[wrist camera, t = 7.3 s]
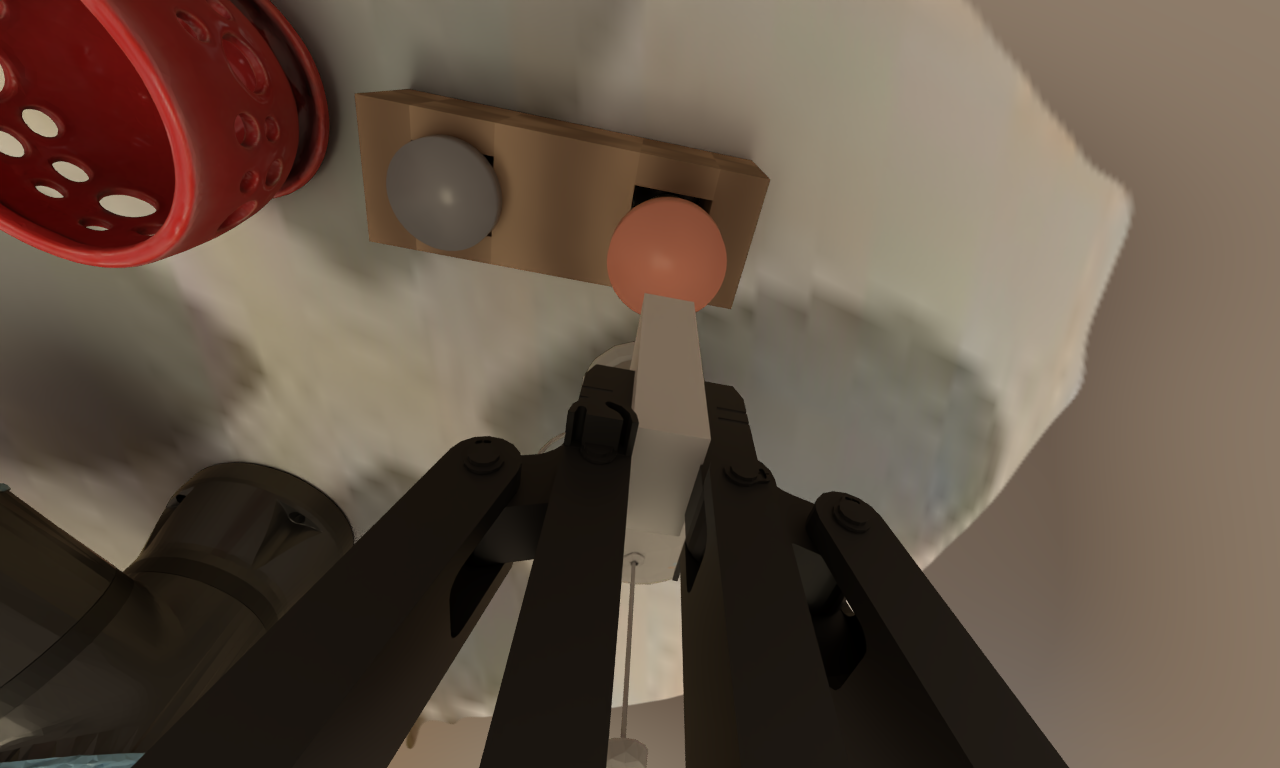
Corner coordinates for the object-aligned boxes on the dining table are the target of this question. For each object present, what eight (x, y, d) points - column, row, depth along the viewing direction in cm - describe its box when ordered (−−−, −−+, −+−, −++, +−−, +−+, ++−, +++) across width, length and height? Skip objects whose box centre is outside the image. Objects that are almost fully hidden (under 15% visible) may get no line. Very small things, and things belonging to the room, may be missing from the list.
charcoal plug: (442, 206, 32) (390, 240, 26) (440, 114, 29) (381, 126, 23) (525, 223, 32) (493, 259, 26) (531, 132, 29) (497, 150, 23)
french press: (707, 446, 41) (753, 842, 20) (566, 448, 42) (468, 833, 21) (708, 338, 36) (773, 718, 15) (548, 343, 37) (394, 713, 16)
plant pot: (107, -123, 24) (-288, -260, 14) (377, 42, 28) (211, 27, 17) (106, 136, 31) (-171, 170, 20) (326, 246, 34) (182, 324, 24)
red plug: (611, 258, 29) (599, 308, 23) (627, 163, 27) (616, 191, 20) (699, 275, 30) (709, 329, 24) (723, 182, 27) (741, 217, 21)
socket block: (415, 213, 32) (369, 241, 27) (409, 89, 29) (354, 93, 24) (720, 272, 34) (730, 309, 29) (751, 160, 30) (770, 179, 25)
